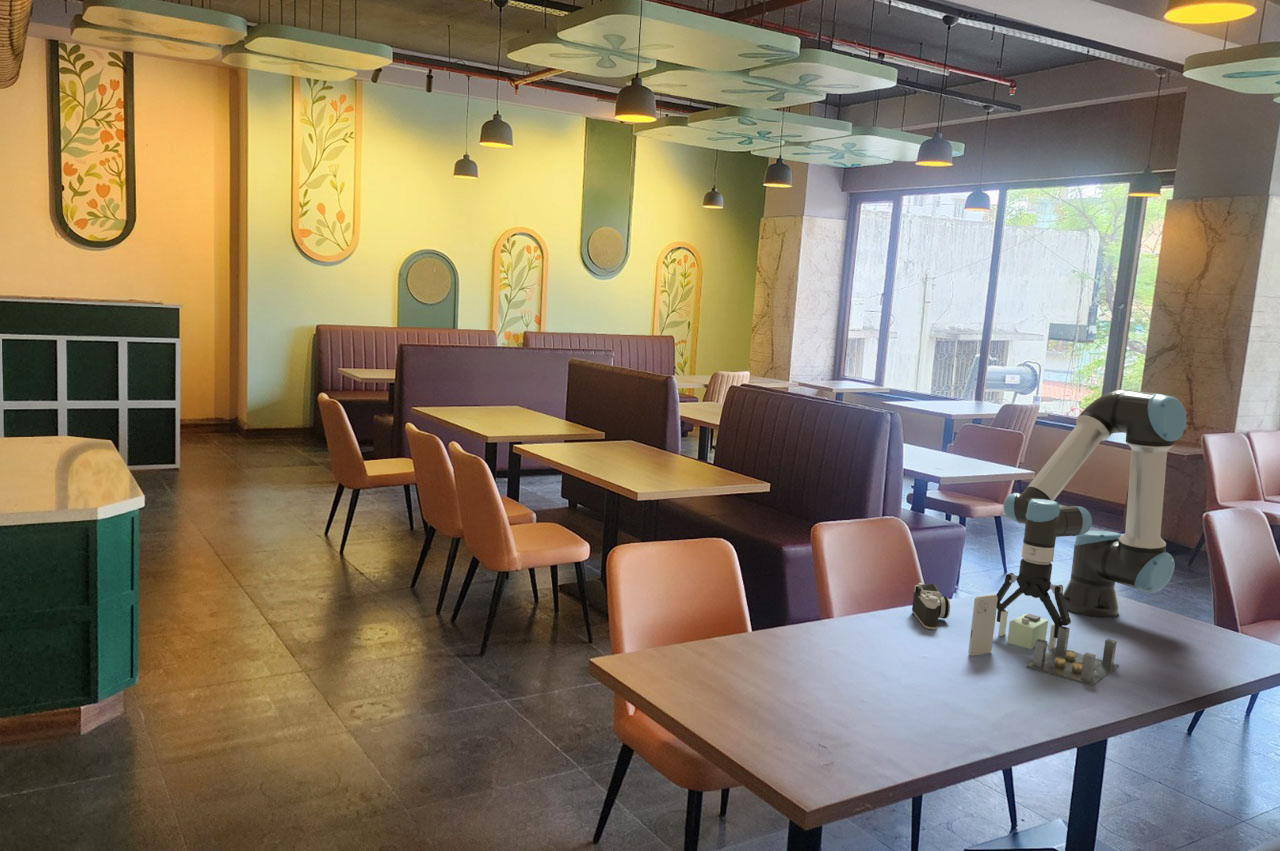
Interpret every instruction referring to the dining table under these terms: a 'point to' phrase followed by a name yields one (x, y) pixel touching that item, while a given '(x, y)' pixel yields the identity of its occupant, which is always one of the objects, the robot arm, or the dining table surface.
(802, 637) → the dining table surface
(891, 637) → the dining table surface
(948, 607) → the camera
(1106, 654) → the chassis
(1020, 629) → the block
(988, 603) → the smartphone
